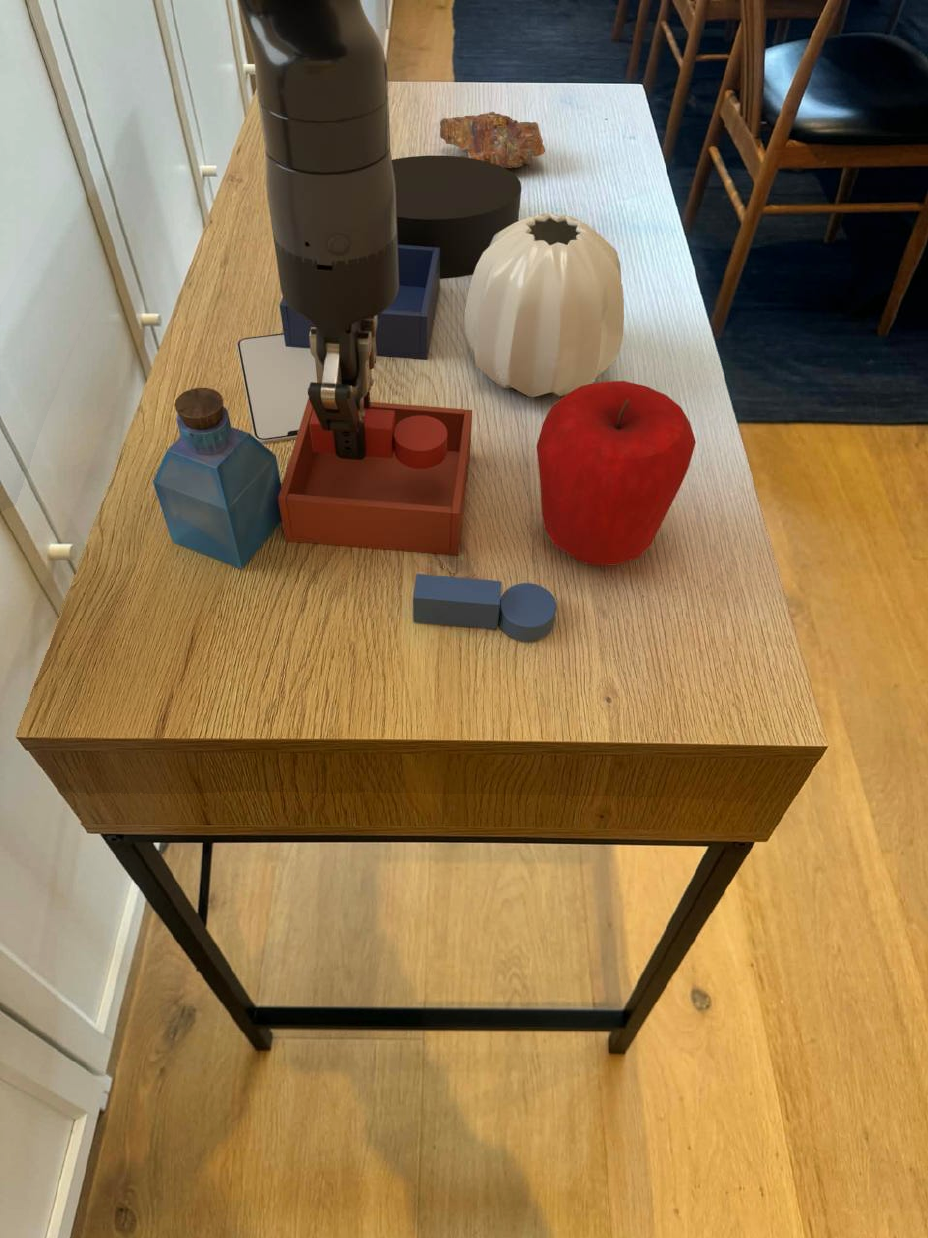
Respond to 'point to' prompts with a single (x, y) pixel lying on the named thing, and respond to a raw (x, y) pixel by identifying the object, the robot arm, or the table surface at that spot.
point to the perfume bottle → (217, 483)
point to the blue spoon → (484, 605)
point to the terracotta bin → (378, 492)
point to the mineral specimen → (494, 138)
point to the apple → (611, 469)
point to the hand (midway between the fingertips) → (354, 443)
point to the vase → (545, 306)
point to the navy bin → (392, 308)
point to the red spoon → (393, 438)
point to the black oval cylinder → (454, 207)
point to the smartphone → (275, 385)
